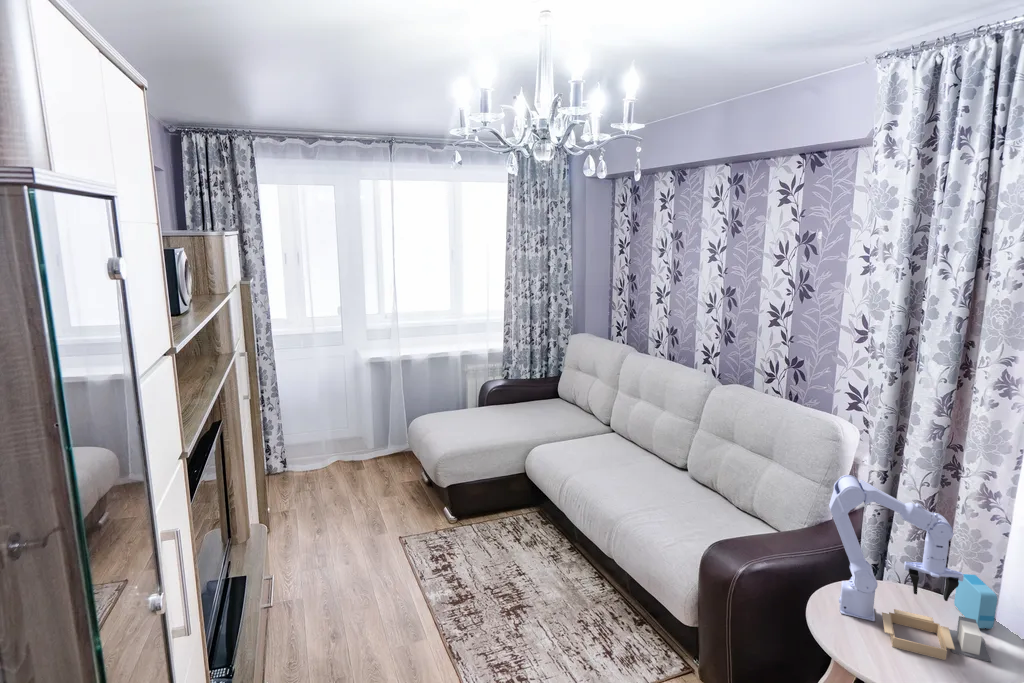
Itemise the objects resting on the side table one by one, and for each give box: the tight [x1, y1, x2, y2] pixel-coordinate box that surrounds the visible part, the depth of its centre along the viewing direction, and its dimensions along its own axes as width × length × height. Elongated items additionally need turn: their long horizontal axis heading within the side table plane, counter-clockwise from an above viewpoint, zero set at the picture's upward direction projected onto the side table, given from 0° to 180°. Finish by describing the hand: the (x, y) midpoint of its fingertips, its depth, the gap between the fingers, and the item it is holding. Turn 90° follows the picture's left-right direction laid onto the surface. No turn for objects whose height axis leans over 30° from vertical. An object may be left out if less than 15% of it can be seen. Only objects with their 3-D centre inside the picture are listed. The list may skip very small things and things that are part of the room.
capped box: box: [956, 615, 983, 655], centre depth 174 cm, size 4×8×6 cm, turn 153°
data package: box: [953, 573, 998, 630], centre depth 186 cm, size 12×4×12 cm, turn 173°
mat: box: [949, 629, 992, 663], centre depth 175 cm, size 9×11×1 cm
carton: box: [881, 608, 955, 661], centre depth 178 cm, size 17×15×3 cm
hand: (930, 595), depth 183 cm, fingers open, 7 cm apart
